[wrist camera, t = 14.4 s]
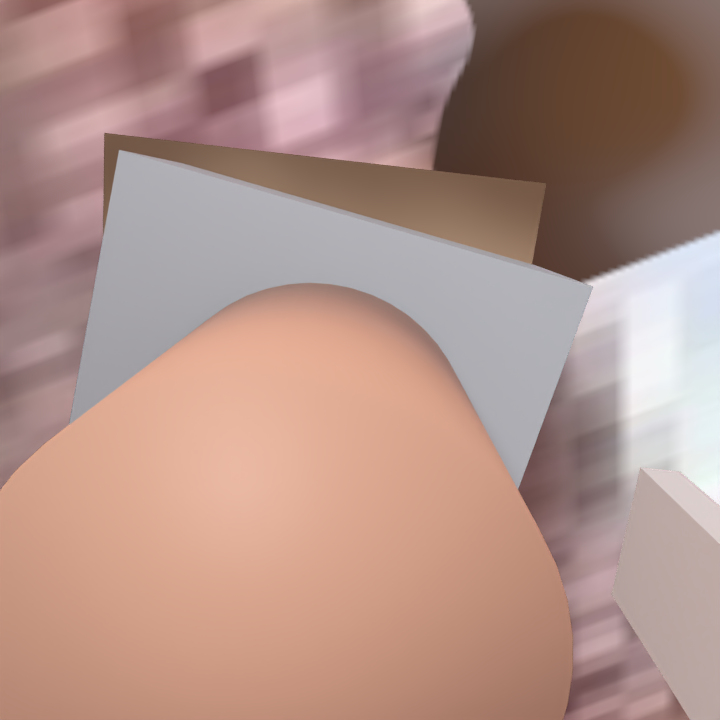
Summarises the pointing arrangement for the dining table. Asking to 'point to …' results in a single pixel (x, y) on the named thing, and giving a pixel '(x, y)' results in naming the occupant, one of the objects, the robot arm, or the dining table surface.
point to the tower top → (318, 265)
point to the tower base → (370, 191)
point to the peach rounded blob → (280, 537)
